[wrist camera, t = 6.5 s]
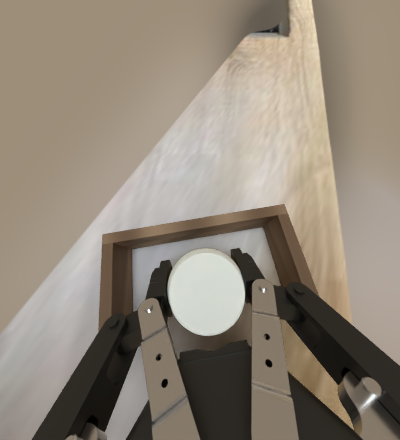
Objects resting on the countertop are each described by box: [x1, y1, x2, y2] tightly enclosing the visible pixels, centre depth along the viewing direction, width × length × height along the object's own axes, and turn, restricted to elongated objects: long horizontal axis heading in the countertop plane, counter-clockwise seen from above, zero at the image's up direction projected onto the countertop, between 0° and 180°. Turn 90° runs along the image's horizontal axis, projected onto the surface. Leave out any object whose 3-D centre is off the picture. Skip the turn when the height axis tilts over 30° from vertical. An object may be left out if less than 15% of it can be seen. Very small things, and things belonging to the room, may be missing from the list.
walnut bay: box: [98, 204, 319, 333], centre depth 15 cm, size 18×11×4 cm, turn 99°
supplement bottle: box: [167, 248, 245, 336], centre depth 13 cm, size 5×5×10 cm
